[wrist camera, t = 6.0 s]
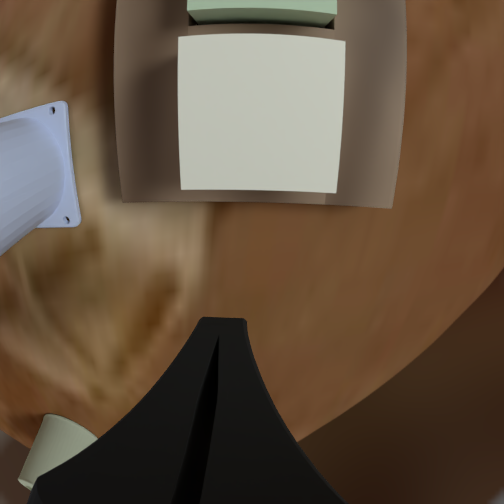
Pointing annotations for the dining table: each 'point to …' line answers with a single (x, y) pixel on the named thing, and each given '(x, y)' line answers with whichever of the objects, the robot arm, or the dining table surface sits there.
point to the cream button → (260, 112)
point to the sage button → (263, 12)
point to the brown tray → (183, 24)
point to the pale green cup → (54, 446)
